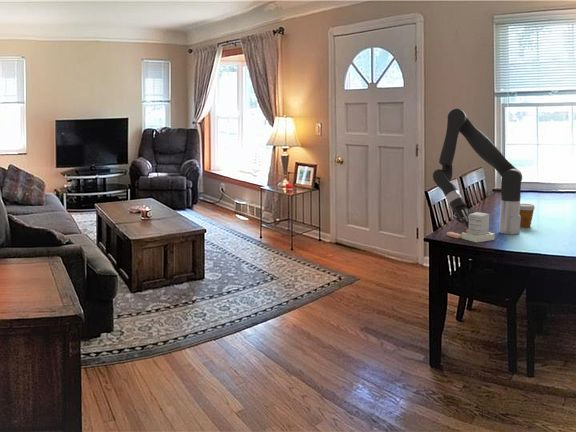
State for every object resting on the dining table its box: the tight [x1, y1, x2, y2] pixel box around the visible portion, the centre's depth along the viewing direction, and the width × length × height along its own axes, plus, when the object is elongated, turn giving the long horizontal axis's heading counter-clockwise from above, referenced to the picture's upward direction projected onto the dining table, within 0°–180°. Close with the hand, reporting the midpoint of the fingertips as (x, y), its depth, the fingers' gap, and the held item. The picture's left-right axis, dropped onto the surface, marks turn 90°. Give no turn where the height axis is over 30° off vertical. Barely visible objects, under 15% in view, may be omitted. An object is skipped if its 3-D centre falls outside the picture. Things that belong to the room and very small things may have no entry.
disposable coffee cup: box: [519, 203, 536, 229], centre depth 301 cm, size 10×10×12 cm
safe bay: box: [461, 231, 496, 243], centre depth 275 cm, size 10×12×3 cm
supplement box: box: [467, 211, 490, 236], centre depth 275 cm, size 7×7×13 cm
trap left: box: [446, 231, 463, 239], centre depth 281 cm, size 8×3×2 cm, turn 25°
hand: (471, 228), depth 279 cm, fingers closed
